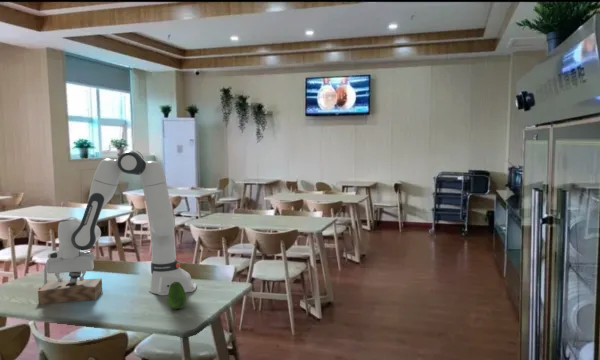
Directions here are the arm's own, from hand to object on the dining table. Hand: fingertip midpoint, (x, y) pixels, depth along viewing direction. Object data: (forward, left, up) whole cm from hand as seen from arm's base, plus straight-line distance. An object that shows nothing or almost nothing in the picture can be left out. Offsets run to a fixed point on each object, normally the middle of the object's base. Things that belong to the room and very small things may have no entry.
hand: (71, 281), depth 215 cm
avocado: (-50, +26, -8) cm, 57 cm away
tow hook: (+14, -16, -8) cm, 23 cm away
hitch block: (0, 0, -8) cm, 8 cm away
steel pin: (0, 0, -3) cm, 3 cm away
